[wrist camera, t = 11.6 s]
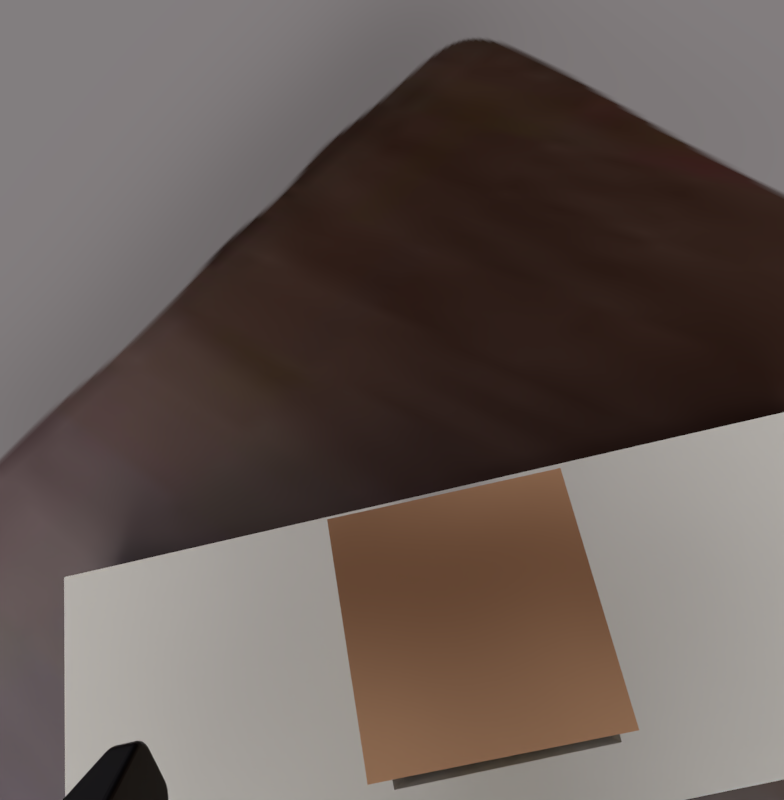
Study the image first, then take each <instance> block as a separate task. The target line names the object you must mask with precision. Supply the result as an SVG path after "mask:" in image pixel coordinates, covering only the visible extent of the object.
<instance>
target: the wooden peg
mask: <svg viewBox="0 0 784 800" xmlns="http://www.w3.org/2000/svg"><path fill="white" fill-rule="evenodd" d="M327 522H328V529H329V535H330V542H331V548H332V555H333V562H334V568H335V575H336V581H337V588H338V594H339V601H340V607H341V614H342V620H343V627H344V634H345V640H346V647H347V653H348V660H349V666H350V673H351V679H352V686H353V692H354V699H355V706H356V712H357V719H358V725H359V732H360V738H361V745H362V751H363V758H364V764H365V771H366V778H367V784H368V785H369V784H374V783H379V782H384V781H389V780H394V779H399V778H404V777H409V776H414V775H419V774H424V773H428V772H433V771H438V770H443V769H448V768H453V767H458V766H463V765H468V764H473V763H478V762H483V761H488V760H493V759H498V758H503V757H508V756H513V755H518V754H523V753H528V752H533V751H538V750H543V749H548V748H553V747H558V746H563V745H568V744H573V743H578V742H583V741H588V740H593V739H598V738H603V737H608V736H613V735H618V734H623V733H628V732H633V731H638V730H639V728H638V724H637V721H636V718H635V714H634V711H633V708H632V704H631V701H630V698H629V694H628V691H627V688H626V684H625V681H624V678H623V674H622V671H621V668H620V664H619V661H618V658H617V654H616V651H615V648H614V645H613V641H612V638H611V635H610V631H609V628H608V625H607V621H606V618H605V615H604V611H603V608H602V605H601V601H600V598H599V595H598V591H597V588H596V585H595V581H594V578H593V575H592V571H591V568H590V565H589V561H588V558H587V555H586V551H585V548H584V545H583V541H582V538H581V535H580V532H579V528H578V525H577V522H576V518H575V515H574V512H573V508H572V505H571V502H570V498H569V495H568V492H567V488H566V485H565V482H564V478H563V475H562V472H561V468H558V469H554V470H549V471H545V472H540V473H535V474H531V475H526V476H522V477H517V478H513V479H508V480H504V481H499V482H495V483H490V484H486V485H481V486H476V487H472V488H467V489H463V490H458V491H454V492H449V493H445V494H440V495H436V496H431V497H427V498H422V499H417V500H413V501H408V502H404V503H399V504H395V505H390V506H386V507H381V508H377V509H372V510H368V511H363V512H359V513H354V514H349V515H345V516H340V517H336V518H331V519H327Z"/></svg>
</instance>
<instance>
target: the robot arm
mask: <svg viewBox="0 0 784 800" xmlns="http://www.w3.org/2000/svg"><path fill="white" fill-rule="evenodd" d="M63 800H168V789H167V785H166V782H165V780H164V778H163V776H162V774H161V772H160V770H159V768H158V766H157V764H156V762H155V760H154V758H153V756H152V754H151V752H150V750H149V748H148V746H147V745H146V744H145V743H144V742H142V741H133V742H129V743H124V744H120V745H115V746H113V747H111V748H110V749H108V750H107V751H106V752H105V753H104V754H103V756H102V757H101V758H100V759H99V760H98V761H97V762H96V763H95V764H94V766H93V767H92V768H91V769H90V770H89V771H88V772H87V773H86V774H85V776H84V777H83V778H82V779H81V780H80V781H79V782H78V783H77V784H76V785H75V787H74V788H73V789H72V790H71V791H70V792H69V793H68V794H67V795H66V797H65V798H64V799H63Z"/></svg>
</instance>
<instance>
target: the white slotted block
mask: <svg viewBox="0 0 784 800" xmlns="http://www.w3.org/2000/svg"><path fill="white" fill-rule="evenodd" d="M558 468H561V472H562V475H563V478H564V482H565V485H566V488H567V492H568V495H569V498H570V502H571V505H572V508H573V512H574V515H575V518H576V522H577V525H578V528H579V532H580V535H581V538H582V541H583V545H584V548H585V551H586V555H587V558H588V561H589V565H590V568H591V571H592V575H593V578H594V581H595V585H596V588H597V591H598V595H599V598H600V601H601V605H602V608H603V611H604V615H605V618H606V621H607V625H608V628H609V631H610V635H611V638H612V641H613V645H614V648H615V651H616V654H617V658H618V661H619V664H620V668H621V671H622V674H623V678H624V681H625V684H626V688H627V691H628V694H629V698H630V701H631V704H632V708H633V711H634V714H635V718H636V721H637V724H638V728H639V730H638V731H633V732H628V733H623V734H618V735H613V736H608V737H603V738H598V739H593V740H588V741H583V742H578V743H573V744H568V745H563V746H558V747H553V748H548V749H543V750H538V751H533V752H528V753H523V754H518V755H513V756H508V757H503V758H498V759H493V760H488V761H483V762H478V763H473V764H468V765H463V766H458V767H453V768H448V769H443V770H438V771H433V772H428V773H424V774H419V775H414V776H409V777H404V778H399V779H394V780H389V781H384V782H379V783H374V784H369V785H368V784H367V778H366V771H365V764H364V758H363V751H362V745H361V738H360V732H359V725H358V719H357V712H356V706H355V699H354V692H353V686H352V679H351V673H350V666H349V660H348V653H347V647H346V640H345V634H344V627H343V620H342V614H341V607H340V601H339V594H338V588H337V581H336V575H335V568H334V562H333V555H332V548H331V542H330V535H329V529H328V522H327V519H331V518H336V517H340V516H345V515H349V514H354V513H359V512H363V511H368V510H372V509H377V508H381V507H386V506H390V505H395V504H399V503H404V502H408V501H413V500H417V499H422V498H427V497H431V496H436V495H440V494H445V493H449V492H454V491H458V490H463V489H467V488H472V487H476V486H481V485H486V484H490V483H495V482H499V481H504V480H508V479H513V478H517V477H522V476H526V475H531V474H535V473H540V472H545V471H549V470H554V469H558ZM64 656H65V797H66V795H67V794H68V793H69V792H70V791H71V790H72V789H73V788H74V787H75V785H76V784H77V783H78V782H79V781H80V780H81V779H82V778H83V777H84V776H85V774H86V773H87V772H88V771H89V770H90V769H91V768H92V767H93V766H94V764H95V763H96V762H97V761H98V760H99V759H100V758H101V757H102V756H103V754H104V753H105V752H106V751H107V750H108V749H110V748H111V747H113V746H115V745H120V744H124V743H129V742H133V741H142V742H144V743H145V744H146V745H147V746H148V748H149V750H150V752H151V754H152V756H153V758H154V760H155V762H156V764H157V766H158V768H159V770H160V772H161V774H162V776H163V778H164V780H165V782H166V785H167V789H168V800H686V799H691V798H696V797H701V796H706V795H710V794H715V793H720V792H725V791H730V790H735V789H740V788H745V787H749V786H754V785H759V784H764V783H769V782H774V781H779V780H784V412H783V413H778V414H774V415H770V416H765V417H761V418H757V419H752V420H748V421H744V422H739V423H735V424H730V425H726V426H722V427H717V428H713V429H709V430H704V431H700V432H696V433H691V434H687V435H682V436H678V437H674V438H669V439H665V440H661V441H656V442H652V443H648V444H643V445H639V446H634V447H630V448H626V449H621V450H617V451H613V452H608V453H604V454H600V455H595V456H591V457H587V458H582V459H578V460H573V461H569V462H565V463H560V464H556V465H552V466H547V467H543V468H539V469H534V470H530V471H525V472H521V473H517V474H512V475H508V476H504V477H499V478H495V479H491V480H486V481H482V482H478V483H473V484H469V485H464V486H460V487H456V488H451V489H447V490H443V491H438V492H434V493H430V494H425V495H421V496H416V497H412V498H408V499H403V500H399V501H395V502H390V503H386V504H382V505H377V506H373V507H368V508H364V509H360V510H355V511H351V512H347V513H342V514H338V515H334V516H329V517H325V518H321V519H316V520H312V521H307V522H303V523H299V524H294V525H290V526H286V527H281V528H277V529H273V530H268V531H264V532H259V533H255V534H251V535H246V536H242V537H238V538H233V539H229V540H225V541H220V542H216V543H211V544H207V545H203V546H198V547H194V548H190V549H185V550H181V551H177V552H172V553H168V554H164V555H159V556H155V557H150V558H146V559H142V560H137V561H133V562H129V563H124V564H120V565H116V566H111V567H107V568H102V569H98V570H94V571H89V572H85V573H81V574H76V575H72V576H68V577H64Z"/></svg>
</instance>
